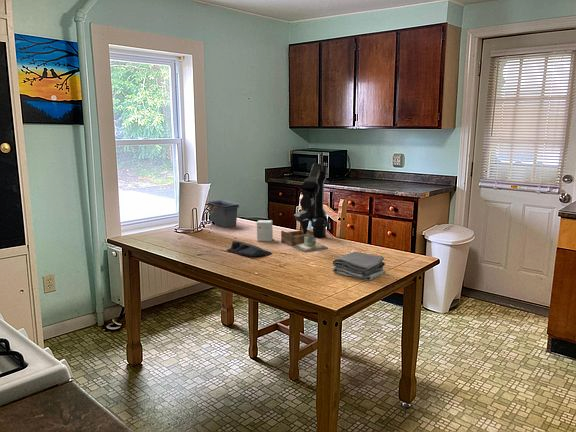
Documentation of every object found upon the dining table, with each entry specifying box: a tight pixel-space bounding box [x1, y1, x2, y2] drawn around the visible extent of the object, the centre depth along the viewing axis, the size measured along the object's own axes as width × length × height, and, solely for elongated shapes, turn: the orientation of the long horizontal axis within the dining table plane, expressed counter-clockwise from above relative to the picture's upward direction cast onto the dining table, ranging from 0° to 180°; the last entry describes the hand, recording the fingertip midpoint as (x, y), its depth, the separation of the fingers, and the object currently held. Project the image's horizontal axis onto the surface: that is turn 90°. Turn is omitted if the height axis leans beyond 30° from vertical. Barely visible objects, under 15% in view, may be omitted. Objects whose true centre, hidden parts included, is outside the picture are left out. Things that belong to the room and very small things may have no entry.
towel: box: [332, 251, 386, 282], centre depth 194 cm, size 15×18×8 cm
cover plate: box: [295, 235, 325, 250], centre depth 235 cm, size 11×10×5 cm
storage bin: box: [206, 199, 240, 228], centre depth 289 cm, size 21×16×14 cm
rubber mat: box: [291, 245, 329, 253], centre depth 236 cm, size 14×12×1 cm
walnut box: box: [280, 227, 313, 247], centre depth 246 cm, size 13×11×6 cm
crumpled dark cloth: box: [226, 240, 273, 258], centre depth 228 cm, size 15×22×5 cm
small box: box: [256, 219, 274, 242], centre depth 251 cm, size 8×6×10 cm
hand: (309, 235), depth 235 cm, fingers open, 9 cm apart
